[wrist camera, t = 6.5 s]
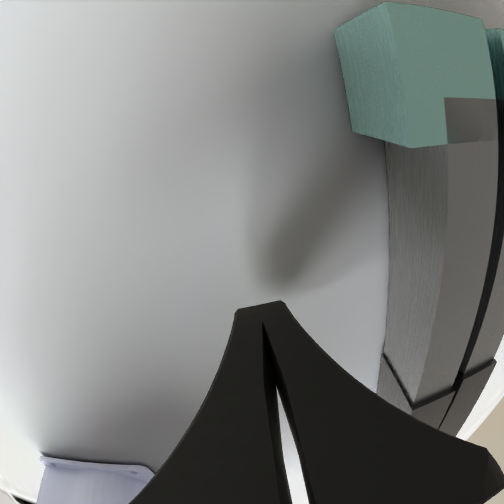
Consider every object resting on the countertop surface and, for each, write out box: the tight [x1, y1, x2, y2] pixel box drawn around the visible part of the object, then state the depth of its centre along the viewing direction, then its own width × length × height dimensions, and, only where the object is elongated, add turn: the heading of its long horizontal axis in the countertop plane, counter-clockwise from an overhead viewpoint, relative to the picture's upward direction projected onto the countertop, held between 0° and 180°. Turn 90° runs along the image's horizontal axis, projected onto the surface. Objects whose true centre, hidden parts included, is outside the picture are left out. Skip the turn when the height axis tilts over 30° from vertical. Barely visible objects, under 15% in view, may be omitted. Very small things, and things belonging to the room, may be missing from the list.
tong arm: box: [333, 2, 498, 429], centre depth 10 cm, size 22×4×3 cm, turn 12°
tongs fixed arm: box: [438, 28, 504, 437], centre depth 10 cm, size 19×3×3 cm, turn 10°
